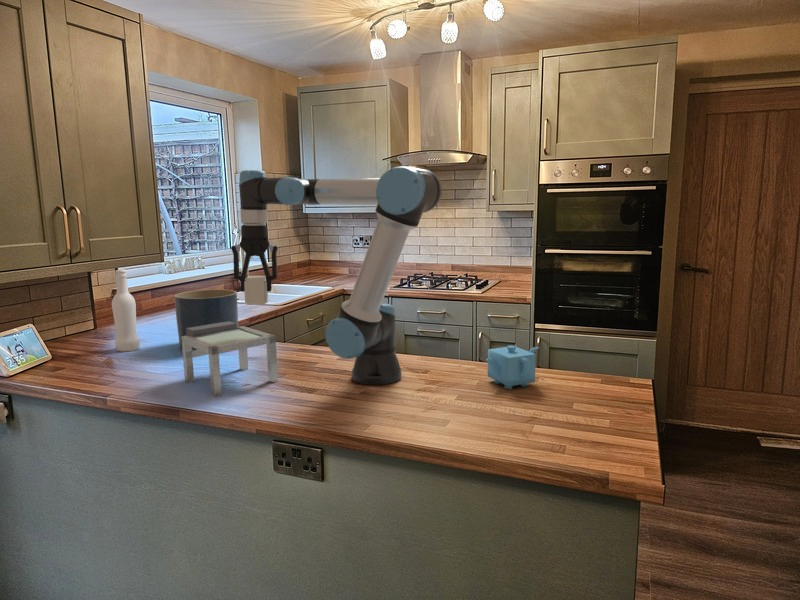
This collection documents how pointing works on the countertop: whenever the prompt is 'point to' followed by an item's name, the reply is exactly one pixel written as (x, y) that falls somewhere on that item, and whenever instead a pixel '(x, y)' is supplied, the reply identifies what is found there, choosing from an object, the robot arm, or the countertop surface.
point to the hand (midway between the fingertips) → (256, 302)
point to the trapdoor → (219, 333)
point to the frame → (215, 350)
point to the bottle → (124, 315)
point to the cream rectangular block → (255, 290)
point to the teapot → (511, 366)
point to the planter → (204, 309)
